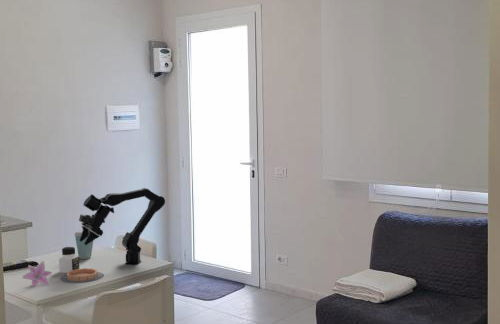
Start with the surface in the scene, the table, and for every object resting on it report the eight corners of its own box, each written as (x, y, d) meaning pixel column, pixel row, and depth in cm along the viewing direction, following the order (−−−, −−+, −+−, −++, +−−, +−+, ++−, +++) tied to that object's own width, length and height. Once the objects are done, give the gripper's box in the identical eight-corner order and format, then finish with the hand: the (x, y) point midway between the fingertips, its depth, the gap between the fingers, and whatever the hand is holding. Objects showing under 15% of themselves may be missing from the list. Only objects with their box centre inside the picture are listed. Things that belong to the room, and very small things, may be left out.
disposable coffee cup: (70, 258, 318) (70, 230, 317) (86, 254, 328) (85, 227, 326) (84, 261, 313) (83, 233, 312) (99, 256, 322) (99, 229, 321)
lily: (18, 290, 266) (22, 273, 262) (26, 273, 276) (30, 257, 272) (45, 296, 268) (49, 280, 264) (52, 279, 279) (56, 264, 274)
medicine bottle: (72, 273, 288) (71, 248, 287) (59, 273, 289) (58, 248, 288) (79, 269, 295) (78, 245, 294) (66, 269, 296) (65, 245, 295)
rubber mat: (110, 272, 289) (110, 272, 289) (93, 284, 270) (93, 283, 270) (72, 271, 293) (72, 270, 293) (52, 282, 273) (52, 281, 273)
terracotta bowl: (102, 273, 287) (102, 269, 287) (89, 281, 273) (89, 277, 273) (75, 272, 289) (75, 267, 289) (61, 280, 275) (61, 275, 275)
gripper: (82, 205, 302) (64, 231, 298) (92, 210, 286) (73, 238, 282) (100, 216, 307) (82, 242, 303) (110, 222, 291) (92, 249, 287)
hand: (82, 242), depth 294 cm, fingers open, 9 cm apart
